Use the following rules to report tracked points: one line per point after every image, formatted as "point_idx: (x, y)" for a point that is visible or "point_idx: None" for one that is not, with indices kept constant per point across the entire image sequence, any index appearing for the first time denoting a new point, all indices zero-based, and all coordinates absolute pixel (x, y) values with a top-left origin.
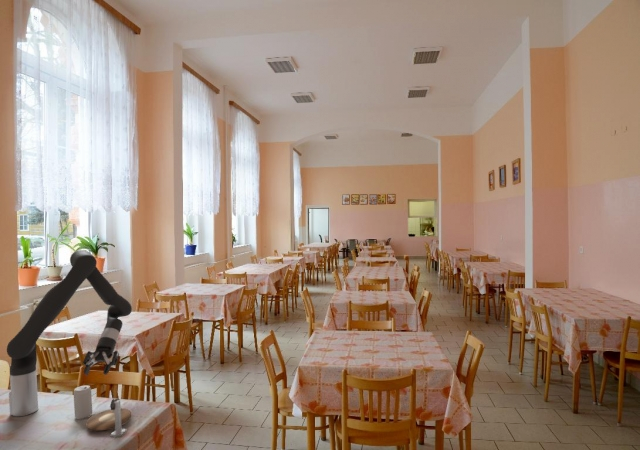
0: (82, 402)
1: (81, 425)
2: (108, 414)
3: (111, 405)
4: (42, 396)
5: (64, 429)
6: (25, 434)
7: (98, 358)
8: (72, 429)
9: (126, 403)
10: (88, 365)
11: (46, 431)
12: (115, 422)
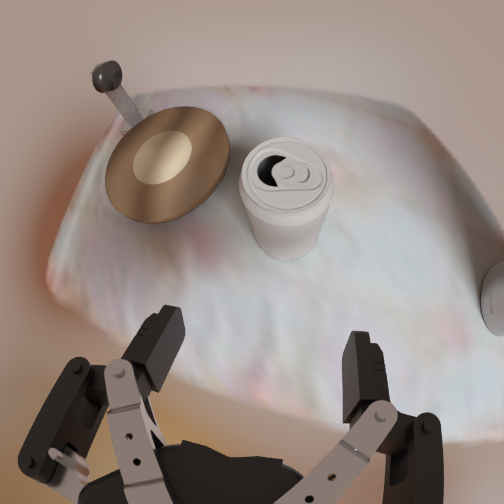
0: (270, 171)
1: None
2: (168, 174)
3: (115, 63)
4: (500, 415)
5: None
6: (403, 141)
7: (247, 472)
8: None
9: None
10: (359, 396)
11: (355, 144)
12: (129, 99)
